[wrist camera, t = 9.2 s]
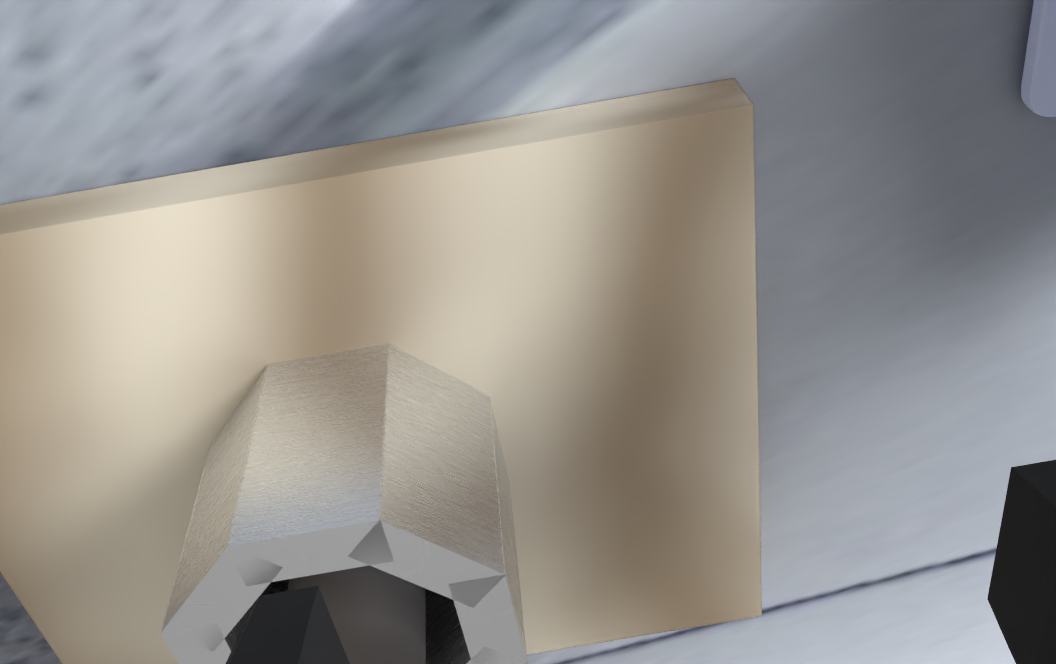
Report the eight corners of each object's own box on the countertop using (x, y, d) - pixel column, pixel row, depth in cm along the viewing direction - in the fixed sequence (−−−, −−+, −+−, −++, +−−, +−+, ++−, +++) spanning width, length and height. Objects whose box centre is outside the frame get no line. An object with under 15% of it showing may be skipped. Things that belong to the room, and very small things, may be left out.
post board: (734, 78, 17) (848, 241, 13) (748, 577, 25) (823, 795, 20) (-168, 234, 18) (-384, 450, 13) (115, 681, 25) (44, 921, 20)
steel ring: (475, 328, 18) (487, 501, 15) (521, 534, 22) (540, 719, 18) (181, 379, 18) (120, 563, 15) (270, 577, 22) (238, 769, 18)
